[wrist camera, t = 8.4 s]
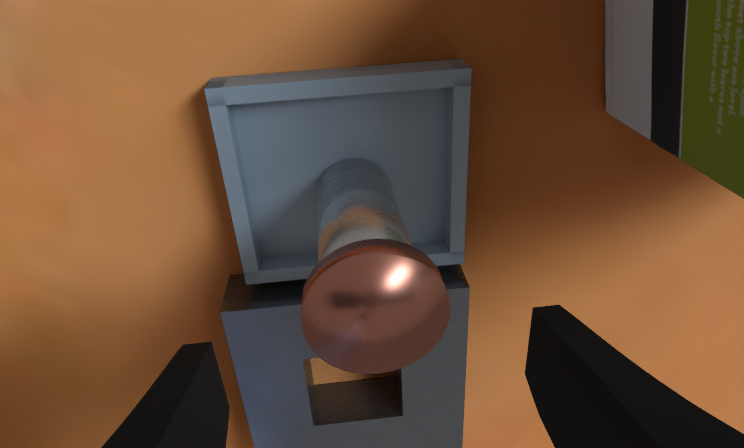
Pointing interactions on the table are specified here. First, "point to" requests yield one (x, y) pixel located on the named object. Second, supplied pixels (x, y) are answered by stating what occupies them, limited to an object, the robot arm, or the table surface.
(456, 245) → the tray
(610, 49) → the tea box
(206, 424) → the robot arm
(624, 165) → the table surface
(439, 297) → the pin
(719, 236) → the table surface
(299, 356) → the hitch block
